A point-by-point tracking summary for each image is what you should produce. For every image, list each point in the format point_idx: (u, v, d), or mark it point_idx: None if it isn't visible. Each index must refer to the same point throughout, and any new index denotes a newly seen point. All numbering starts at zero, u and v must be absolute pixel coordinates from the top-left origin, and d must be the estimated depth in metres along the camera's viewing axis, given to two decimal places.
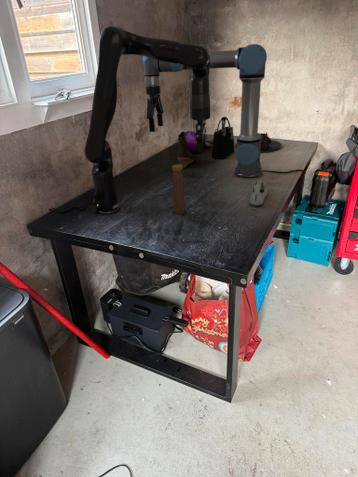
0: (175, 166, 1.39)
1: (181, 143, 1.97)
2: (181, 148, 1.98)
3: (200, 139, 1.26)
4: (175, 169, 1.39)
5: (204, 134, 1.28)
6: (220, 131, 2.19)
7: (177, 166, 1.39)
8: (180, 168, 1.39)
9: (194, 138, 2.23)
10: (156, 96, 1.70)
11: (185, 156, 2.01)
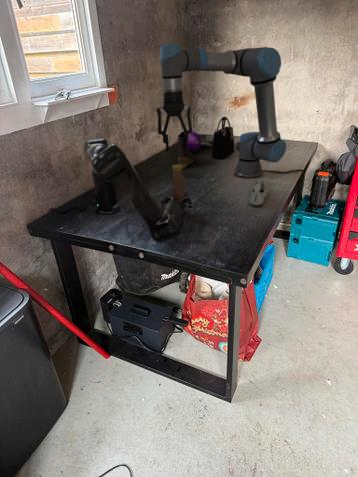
0: (175, 166, 1.39)
1: (181, 143, 1.97)
2: (181, 148, 1.98)
3: None
4: (175, 169, 1.39)
5: None
6: (220, 131, 2.19)
7: (177, 166, 1.39)
8: (180, 168, 1.39)
9: (194, 138, 2.23)
10: (176, 105, 1.27)
11: (185, 156, 2.01)
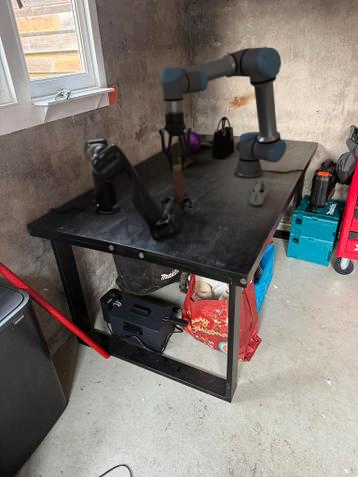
0: (175, 166, 1.39)
1: None
2: None
3: None
4: (175, 169, 1.39)
5: None
6: (220, 131, 2.19)
7: (177, 166, 1.39)
8: (180, 168, 1.39)
9: (194, 138, 2.23)
10: (177, 126, 1.31)
11: None
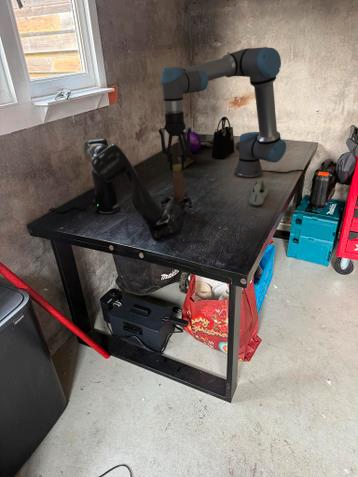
0: (179, 166, 1.39)
1: None
2: (181, 148, 1.98)
3: None
4: None
5: None
6: (220, 131, 2.19)
7: (178, 165, 1.40)
8: None
9: (194, 138, 2.23)
10: (177, 125, 1.31)
11: None
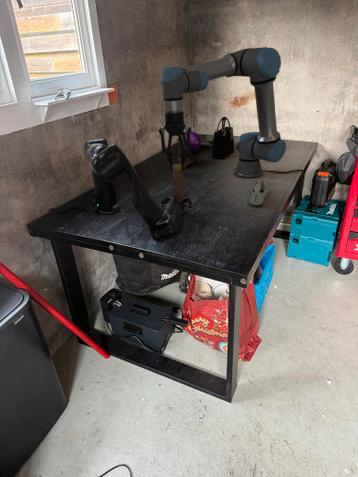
0: (177, 164, 1.41)
1: None
2: (181, 148, 1.98)
3: None
4: None
5: None
6: (220, 131, 2.19)
7: (175, 165, 1.40)
8: None
9: (194, 138, 2.23)
10: (177, 125, 1.30)
11: None
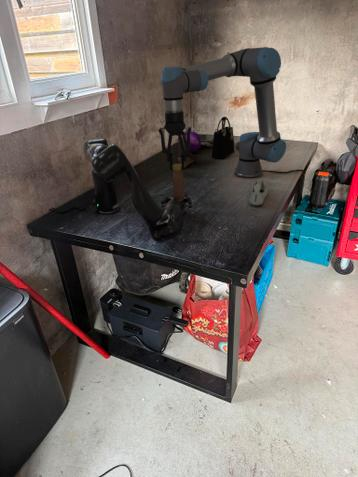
0: (175, 165, 1.40)
1: None
2: (181, 148, 1.98)
3: None
4: (173, 168, 1.39)
5: None
6: (220, 131, 2.19)
7: (176, 165, 1.39)
8: (177, 168, 1.38)
9: (194, 138, 2.23)
10: (177, 125, 1.30)
11: None
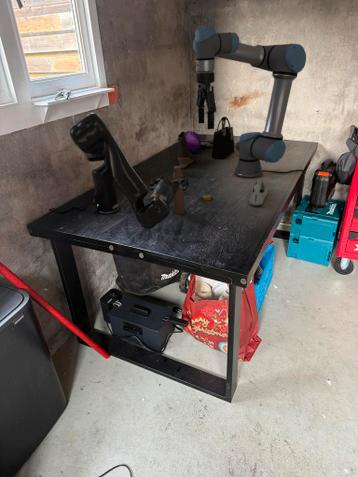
0: (207, 196, 1.60)
1: (181, 143, 1.97)
2: (181, 148, 1.98)
3: None
4: (210, 198, 1.60)
5: None
6: (220, 131, 2.19)
7: (208, 196, 1.61)
8: None
9: (194, 138, 2.23)
10: None
11: (185, 156, 2.01)
